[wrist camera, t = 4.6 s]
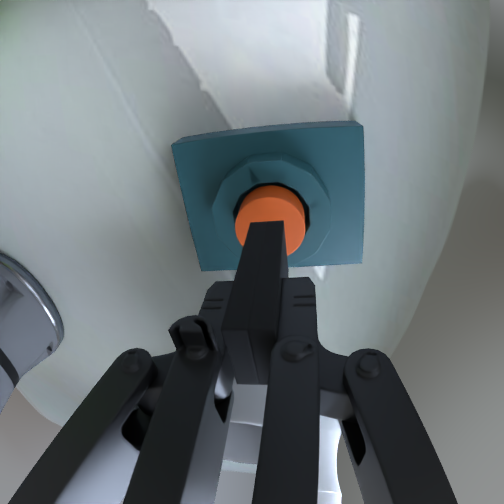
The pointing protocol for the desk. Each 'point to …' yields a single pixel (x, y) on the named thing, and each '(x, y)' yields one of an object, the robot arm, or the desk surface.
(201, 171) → the stop button base
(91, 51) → the desk surface
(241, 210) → the stop button
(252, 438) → the mug
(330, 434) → the water bottle
